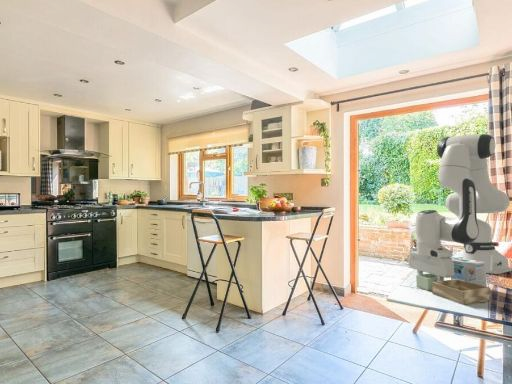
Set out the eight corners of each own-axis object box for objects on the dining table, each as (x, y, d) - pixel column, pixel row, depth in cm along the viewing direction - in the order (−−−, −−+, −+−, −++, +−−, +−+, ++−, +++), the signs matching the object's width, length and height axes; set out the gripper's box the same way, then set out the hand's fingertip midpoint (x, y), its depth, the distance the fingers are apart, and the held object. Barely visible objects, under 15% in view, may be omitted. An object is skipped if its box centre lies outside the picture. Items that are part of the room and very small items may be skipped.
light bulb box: (450, 285, 131) (449, 259, 131) (460, 282, 134) (459, 257, 134) (476, 291, 121) (475, 263, 122) (487, 289, 124) (486, 261, 124)
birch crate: (458, 290, 123) (457, 278, 124) (490, 300, 111) (490, 287, 111) (432, 293, 120) (432, 282, 120) (463, 304, 108) (462, 291, 108)
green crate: (432, 285, 132) (431, 273, 132) (444, 288, 126) (443, 276, 126) (416, 287, 130) (416, 275, 130) (428, 291, 124) (427, 278, 124)
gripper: (404, 246, 137) (405, 278, 137) (443, 254, 117) (444, 291, 117) (416, 245, 139) (417, 276, 139) (456, 253, 119) (458, 289, 119)
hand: (430, 283), depth 128 cm, fingers open, 7 cm apart
